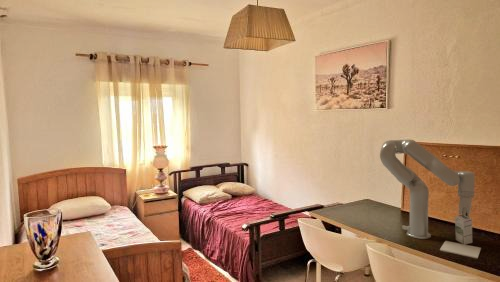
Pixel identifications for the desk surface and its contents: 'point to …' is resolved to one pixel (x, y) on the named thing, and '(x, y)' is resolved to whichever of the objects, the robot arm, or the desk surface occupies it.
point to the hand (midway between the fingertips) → (465, 226)
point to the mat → (461, 249)
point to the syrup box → (463, 229)
